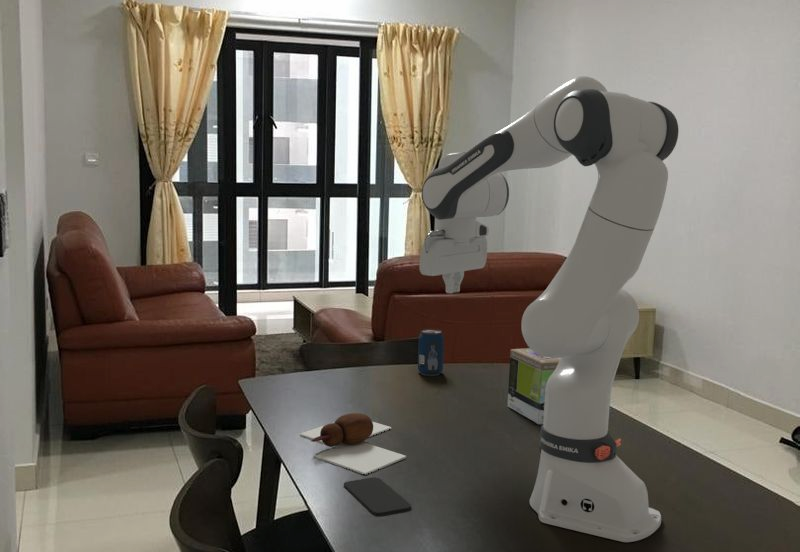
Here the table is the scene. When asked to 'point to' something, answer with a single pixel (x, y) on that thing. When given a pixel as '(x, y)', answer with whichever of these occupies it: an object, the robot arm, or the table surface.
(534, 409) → the tea box
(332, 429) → the wooden figurine
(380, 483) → the phone
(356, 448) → the mat side
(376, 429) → the mat front
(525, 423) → the table surface
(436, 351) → the soda can
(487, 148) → the robot arm
